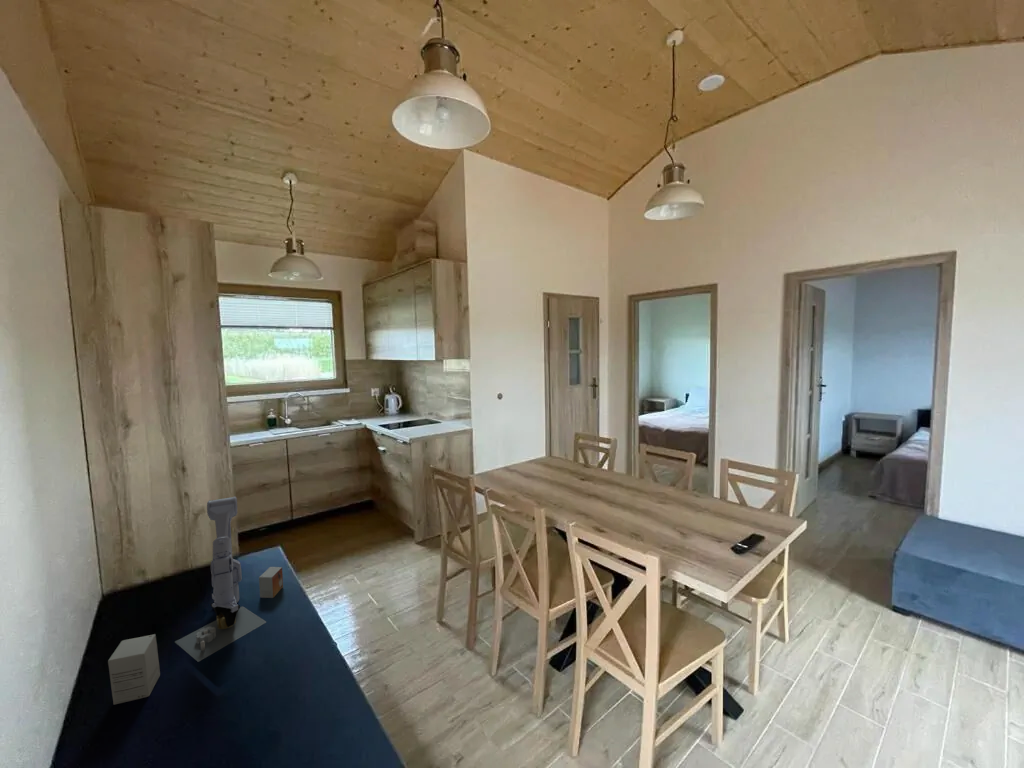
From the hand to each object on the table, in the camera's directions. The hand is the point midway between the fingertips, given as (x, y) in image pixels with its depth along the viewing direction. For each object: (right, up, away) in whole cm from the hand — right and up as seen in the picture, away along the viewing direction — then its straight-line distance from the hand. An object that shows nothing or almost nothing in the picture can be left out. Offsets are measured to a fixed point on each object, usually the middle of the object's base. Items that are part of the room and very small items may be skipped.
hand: (226, 622), depth 159 cm
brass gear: (0, -1, 0) cm, 1 cm away
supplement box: (-11, -7, -25) cm, 28 cm away
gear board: (0, -4, -2) cm, 4 cm away
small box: (+5, -1, +22) cm, 22 cm away
